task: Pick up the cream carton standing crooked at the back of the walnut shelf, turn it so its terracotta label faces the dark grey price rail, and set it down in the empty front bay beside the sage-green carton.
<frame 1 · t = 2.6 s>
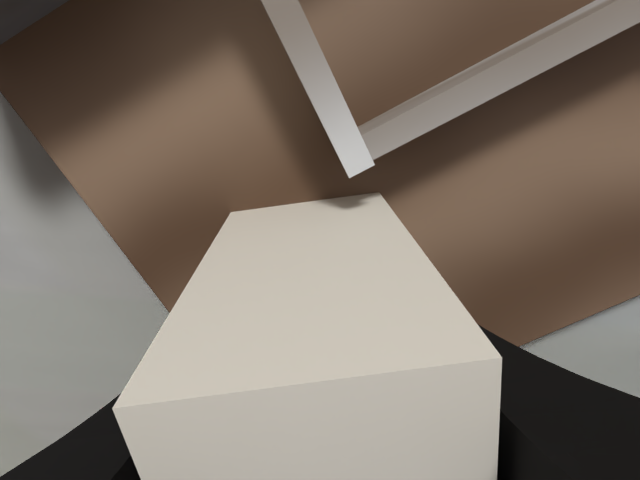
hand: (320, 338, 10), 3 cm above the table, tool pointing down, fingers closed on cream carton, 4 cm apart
walnut shelf: (567, 48, 10), on the table
cream carton: (319, 300, 12), point 1 cm above the table, touching gripper, walnut shelf
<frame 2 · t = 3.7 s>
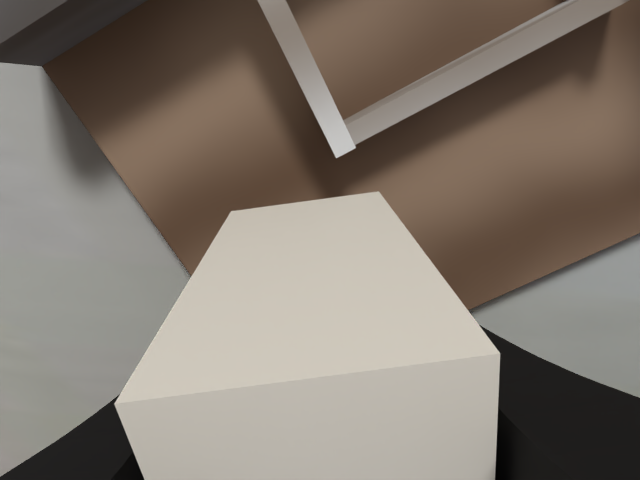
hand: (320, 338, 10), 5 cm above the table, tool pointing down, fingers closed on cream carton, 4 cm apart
walnut shelf: (514, 56, 13), on the table
cream carton: (319, 299, 12), point 4 cm above the table, touching gripper
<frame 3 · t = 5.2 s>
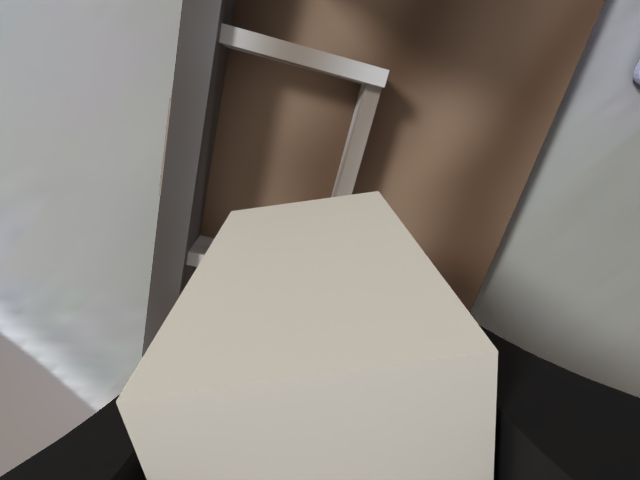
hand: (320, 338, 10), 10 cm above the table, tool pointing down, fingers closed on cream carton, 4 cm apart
walnut shelf: (365, 135, 18), on the table
cream carton: (319, 298, 12), point 8 cm above the table, touching gripper
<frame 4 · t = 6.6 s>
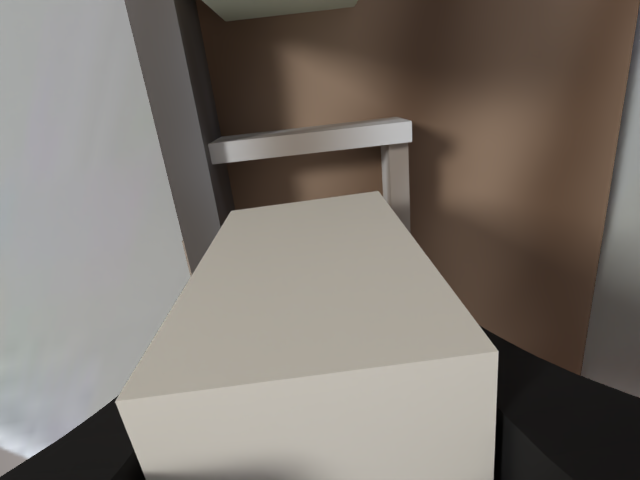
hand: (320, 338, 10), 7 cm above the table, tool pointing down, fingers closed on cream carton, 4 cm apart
walnut shelf: (401, 184, 15), on the table
cream carton: (318, 298, 12), point 5 cm above the table, touching gripper
when the fingers open (4 cm above the table, at t = 7.5 s): cream carton drops 1 cm, resting on walnut shelf.
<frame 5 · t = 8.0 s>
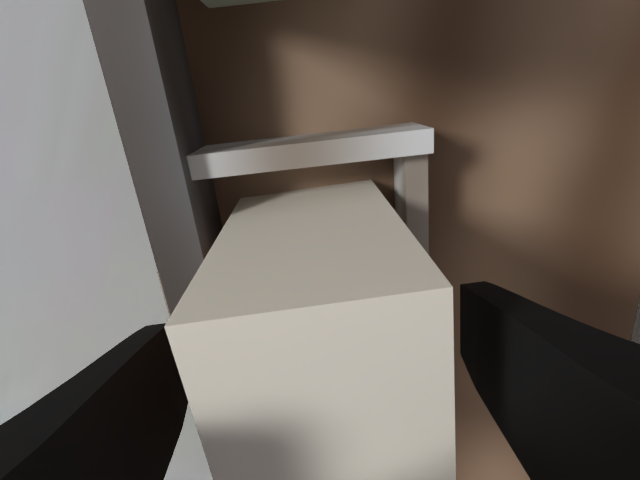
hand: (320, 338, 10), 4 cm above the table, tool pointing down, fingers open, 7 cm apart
walnut shelf: (415, 199, 13), on the table
cream carton: (319, 277, 13), point 1 cm above the table, touching walnut shelf
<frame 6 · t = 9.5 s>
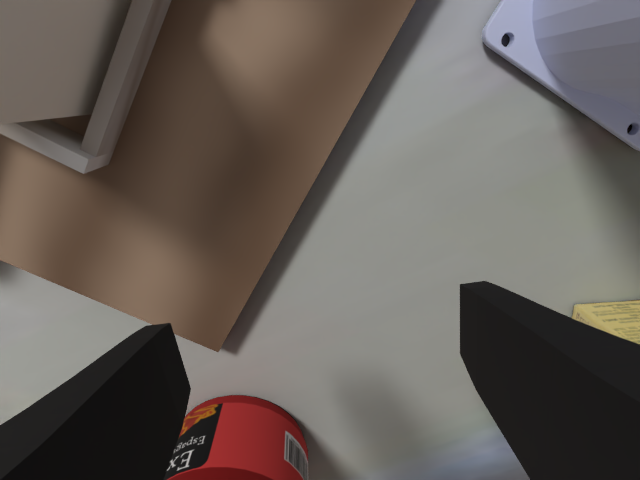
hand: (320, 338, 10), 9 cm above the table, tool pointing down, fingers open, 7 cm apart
candy box: (588, 364, 23), on the table
walnut shelf: (184, 15, 15), on the table
canned food: (242, 440, 24), on the table
cream carton: (64, 10, 14), point 1 cm above the table, touching walnut shelf
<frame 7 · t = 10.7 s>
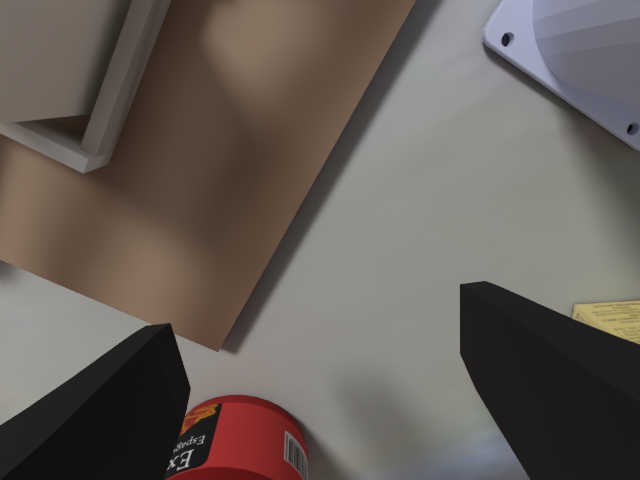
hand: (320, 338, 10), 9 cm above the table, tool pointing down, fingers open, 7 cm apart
candy box: (588, 365, 23), on the table
walnut shelf: (184, 15, 15), on the table
canned food: (242, 439, 24), on the table
cream carton: (64, 10, 14), point 1 cm above the table, touching walnut shelf
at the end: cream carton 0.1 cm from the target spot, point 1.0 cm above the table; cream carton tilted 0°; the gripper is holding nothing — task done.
